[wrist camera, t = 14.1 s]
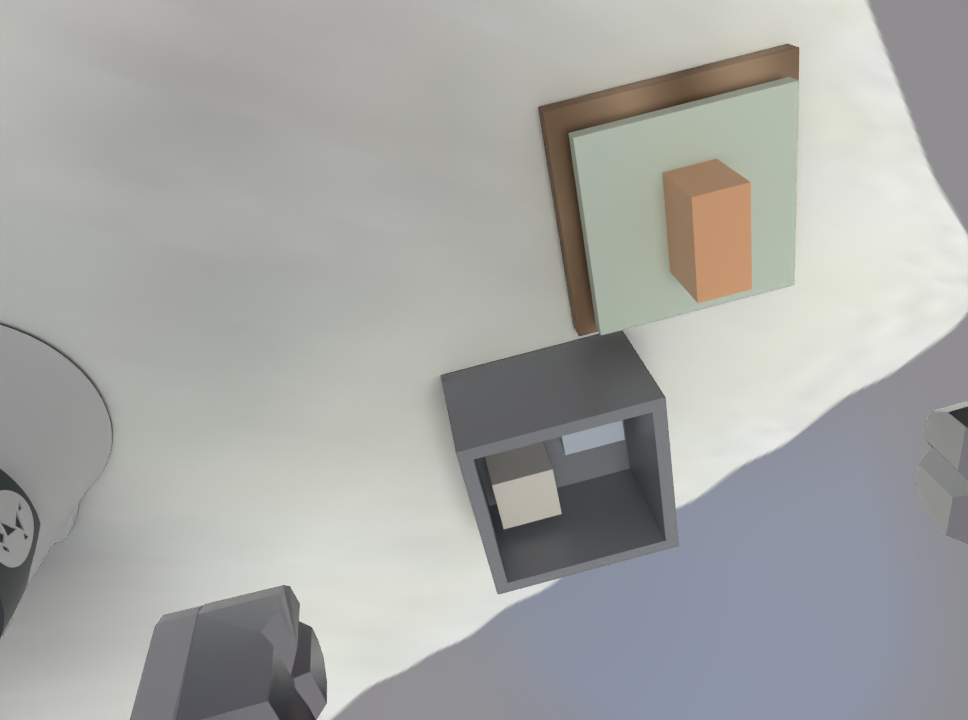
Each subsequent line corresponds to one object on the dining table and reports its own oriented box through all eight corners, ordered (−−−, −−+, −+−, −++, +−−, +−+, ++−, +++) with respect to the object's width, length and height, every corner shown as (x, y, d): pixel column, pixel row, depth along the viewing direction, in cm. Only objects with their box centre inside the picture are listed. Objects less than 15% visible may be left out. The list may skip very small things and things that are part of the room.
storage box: (479, 509, 55) (497, 594, 48) (440, 375, 48) (456, 452, 41) (638, 466, 55) (678, 546, 48) (621, 328, 49) (665, 397, 42)
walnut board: (574, 327, 48) (578, 336, 47) (538, 107, 40) (543, 112, 39) (784, 272, 48) (793, 280, 47) (787, 43, 41) (799, 47, 40)
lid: (591, 319, 46) (621, 370, 41) (563, 128, 40) (595, 160, 35) (778, 271, 47) (830, 316, 42) (779, 73, 40) (842, 97, 35)
